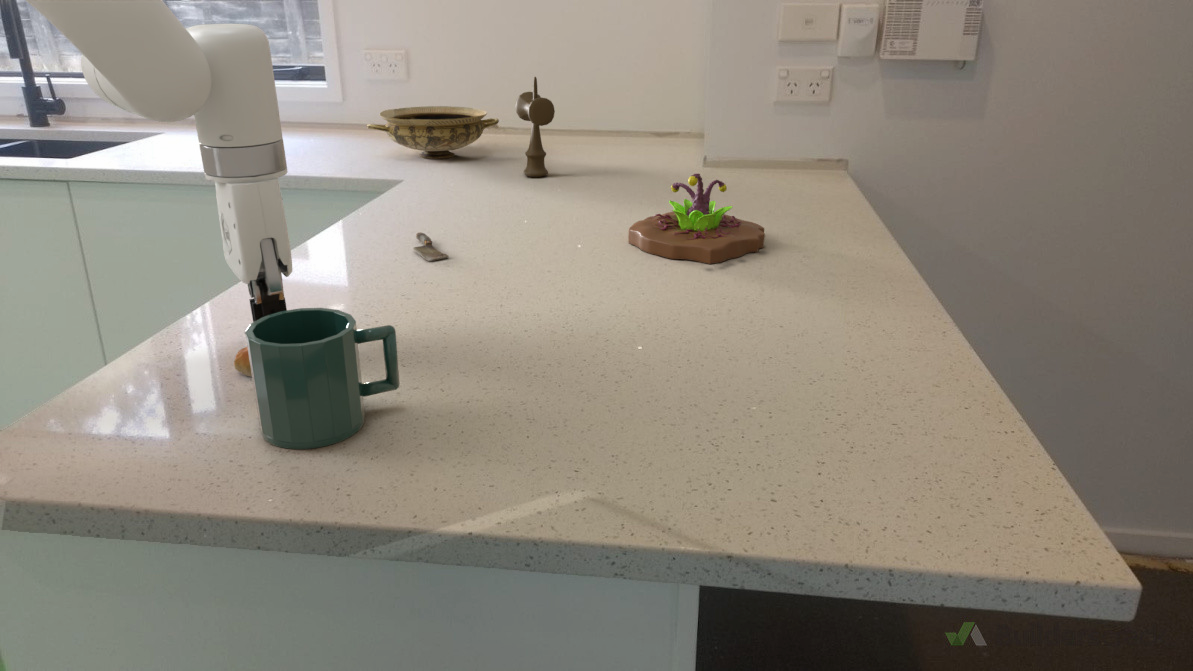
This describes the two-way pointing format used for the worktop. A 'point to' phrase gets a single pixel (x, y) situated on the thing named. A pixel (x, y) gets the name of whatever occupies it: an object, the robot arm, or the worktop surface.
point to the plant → (697, 229)
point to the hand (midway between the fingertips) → (272, 333)
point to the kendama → (535, 127)
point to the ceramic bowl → (434, 128)
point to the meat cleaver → (428, 249)
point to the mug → (314, 375)
